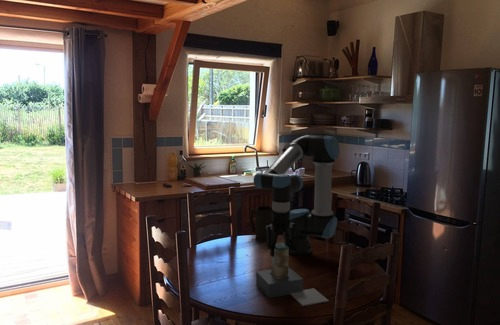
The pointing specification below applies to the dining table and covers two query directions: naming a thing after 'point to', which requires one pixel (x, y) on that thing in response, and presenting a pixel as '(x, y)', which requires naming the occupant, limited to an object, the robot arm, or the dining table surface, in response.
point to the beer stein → (261, 222)
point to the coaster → (309, 297)
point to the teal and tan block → (280, 262)
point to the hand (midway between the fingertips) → (279, 262)
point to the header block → (278, 283)
